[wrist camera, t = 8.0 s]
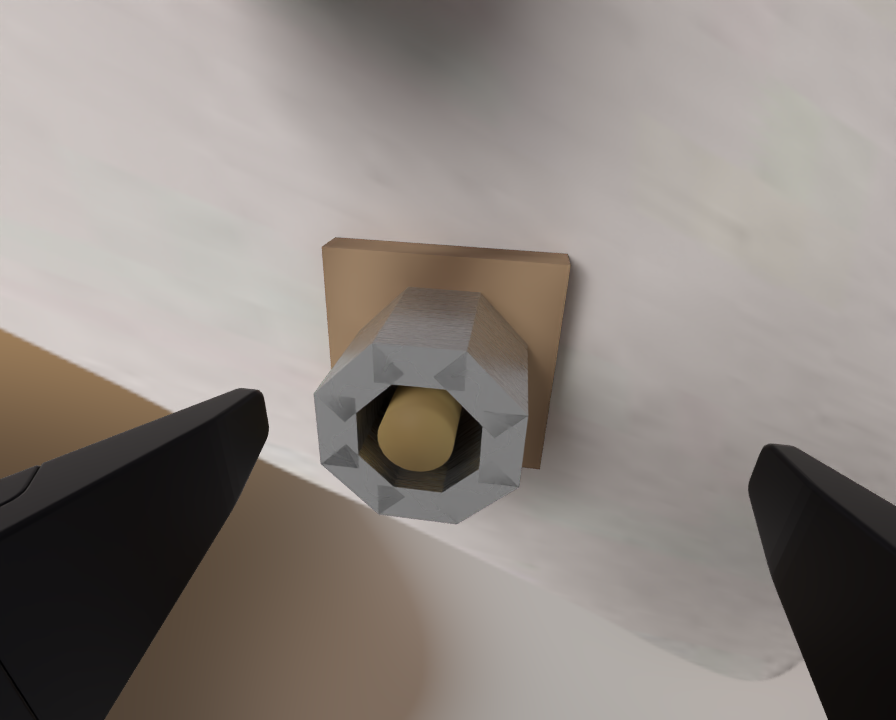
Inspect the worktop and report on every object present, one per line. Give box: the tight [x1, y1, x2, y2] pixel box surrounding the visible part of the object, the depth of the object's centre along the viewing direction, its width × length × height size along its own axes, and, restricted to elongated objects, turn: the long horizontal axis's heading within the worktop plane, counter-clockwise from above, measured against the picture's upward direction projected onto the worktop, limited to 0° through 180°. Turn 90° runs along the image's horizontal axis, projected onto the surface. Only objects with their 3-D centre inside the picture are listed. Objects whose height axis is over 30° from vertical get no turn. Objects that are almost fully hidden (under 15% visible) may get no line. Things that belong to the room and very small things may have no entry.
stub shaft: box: [322, 237, 571, 472], centre depth 18 cm, size 9×9×6 cm
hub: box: [314, 287, 528, 524], centre depth 18 cm, size 6×6×5 cm
